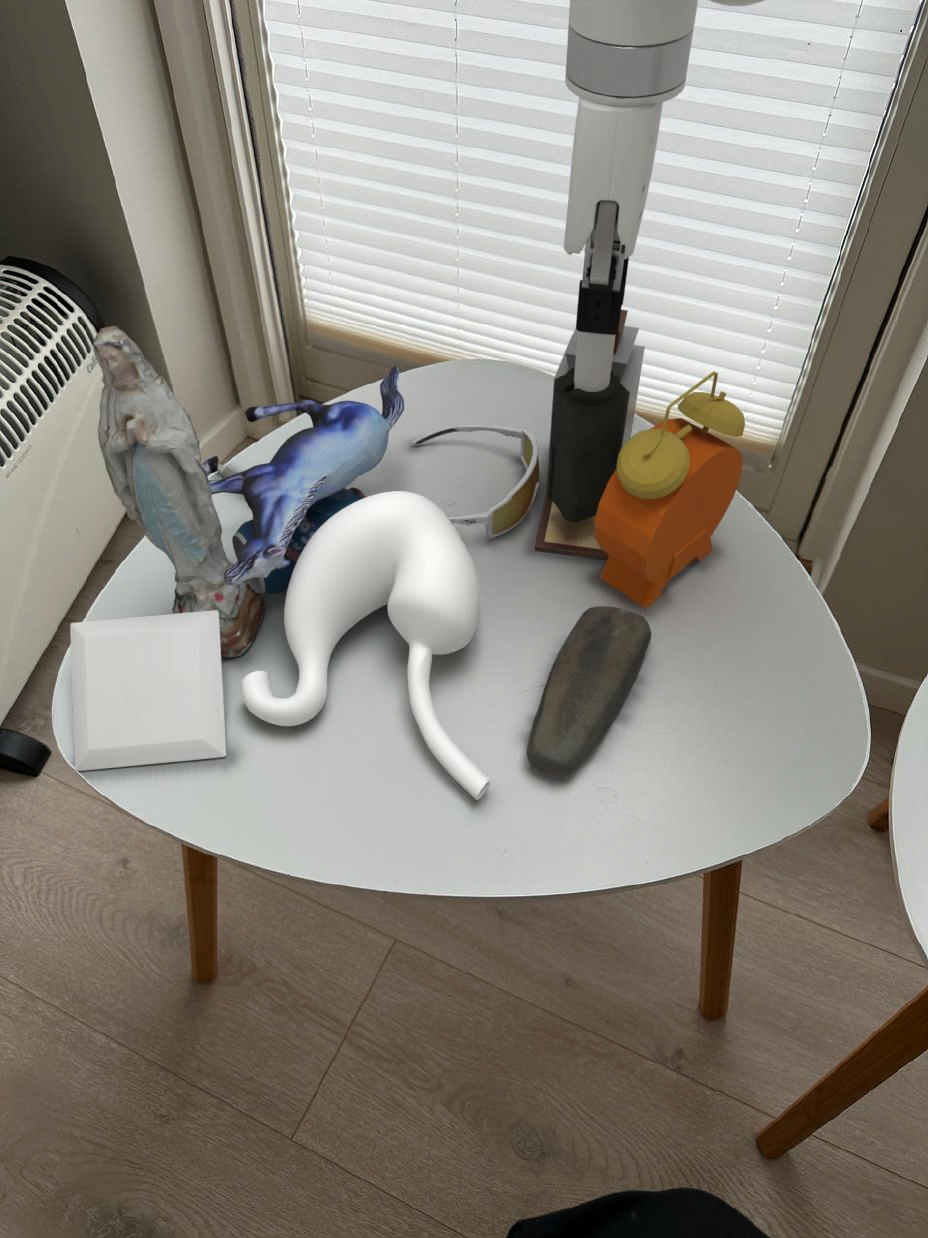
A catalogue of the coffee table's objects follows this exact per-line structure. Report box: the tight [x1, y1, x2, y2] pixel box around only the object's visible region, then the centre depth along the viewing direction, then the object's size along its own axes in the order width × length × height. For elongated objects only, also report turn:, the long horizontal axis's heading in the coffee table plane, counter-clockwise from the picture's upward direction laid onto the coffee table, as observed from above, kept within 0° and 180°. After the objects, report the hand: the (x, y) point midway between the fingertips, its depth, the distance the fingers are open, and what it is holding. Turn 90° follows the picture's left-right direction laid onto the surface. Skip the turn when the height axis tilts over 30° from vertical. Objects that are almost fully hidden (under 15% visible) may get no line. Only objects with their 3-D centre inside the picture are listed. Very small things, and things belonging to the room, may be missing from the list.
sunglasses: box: [411, 424, 540, 538], centre depth 93 cm, size 14×15×5 cm
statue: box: [92, 325, 266, 658], centre depth 72 cm, size 8×7×30 cm
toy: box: [202, 365, 405, 585], centre depth 82 cm, size 8×28×15 cm
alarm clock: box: [594, 370, 746, 610], centre depth 80 cm, size 13×6×20 cm, turn 135°
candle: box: [546, 331, 628, 522], centre depth 78 cm, size 5×5×25 cm
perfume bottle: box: [546, 308, 646, 491], centre depth 87 cm, size 7×7×18 cm
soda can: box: [231, 486, 367, 596], centre depth 85 cm, size 7×7×12 cm
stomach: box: [240, 490, 491, 801], centre depth 76 cm, size 23×13×24 cm
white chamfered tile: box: [69, 610, 227, 772], centre depth 77 cm, size 12×12×5 cm
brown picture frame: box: [534, 491, 609, 561], centre depth 92 cm, size 7×14×1 cm, turn 168°
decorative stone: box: [525, 605, 652, 778], centre depth 76 cm, size 17×6×4 cm, turn 155°
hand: (599, 315), depth 72 cm, fingers closed on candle, 3 cm apart
